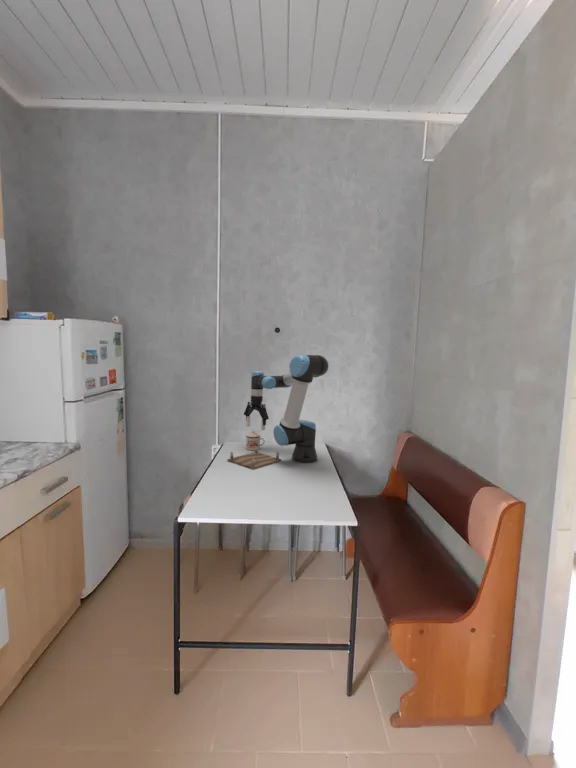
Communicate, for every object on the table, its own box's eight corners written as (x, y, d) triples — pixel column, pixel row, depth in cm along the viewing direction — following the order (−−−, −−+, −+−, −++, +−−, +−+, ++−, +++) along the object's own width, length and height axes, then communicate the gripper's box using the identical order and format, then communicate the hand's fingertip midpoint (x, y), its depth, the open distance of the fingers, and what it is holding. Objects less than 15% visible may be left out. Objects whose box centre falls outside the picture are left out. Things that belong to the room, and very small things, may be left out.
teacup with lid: (244, 450, 247) (245, 432, 246) (246, 446, 256) (247, 429, 255) (263, 451, 247) (264, 433, 246) (264, 447, 256) (265, 430, 255)
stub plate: (281, 461, 227) (281, 452, 226) (253, 469, 209) (253, 460, 209) (256, 453, 240) (256, 445, 240) (227, 461, 223) (227, 452, 222)
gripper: (275, 397, 243) (273, 430, 245) (247, 392, 259) (246, 424, 261) (266, 398, 237) (265, 432, 240) (239, 393, 253) (238, 425, 256)
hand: (255, 428), depth 251 cm, fingers open, 13 cm apart
